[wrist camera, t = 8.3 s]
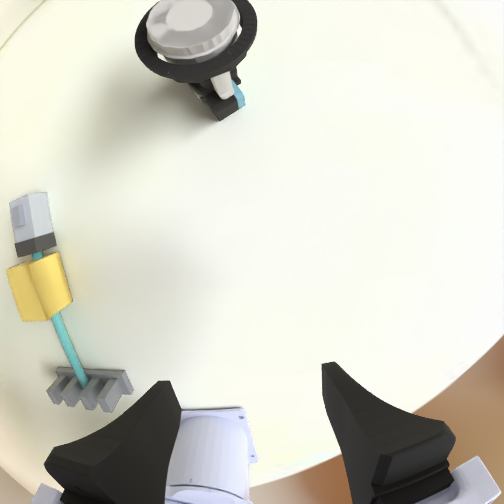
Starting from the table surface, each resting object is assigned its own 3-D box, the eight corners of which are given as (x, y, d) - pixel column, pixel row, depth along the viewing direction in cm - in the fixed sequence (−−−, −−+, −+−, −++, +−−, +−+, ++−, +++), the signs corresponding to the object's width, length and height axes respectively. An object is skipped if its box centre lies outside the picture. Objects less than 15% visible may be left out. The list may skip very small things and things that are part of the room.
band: (56, 245, 20) (37, 252, 17) (37, 250, 20) (17, 257, 17) (53, 231, 20) (33, 237, 17) (34, 237, 20) (14, 243, 17)
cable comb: (133, 389, 23) (119, 416, 19) (67, 384, 24) (51, 405, 20) (124, 370, 23) (108, 396, 19) (58, 367, 23) (40, 387, 19)
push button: (159, 72, 17) (99, 6, 7) (219, 35, 16) (199, -50, 7) (205, 137, 18) (162, 93, 9) (269, 97, 18) (285, 24, 8)
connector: (53, 231, 20) (30, 238, 17) (34, 237, 20) (11, 244, 17) (46, 192, 19) (23, 194, 16) (27, 200, 19) (4, 203, 16)
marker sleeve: (73, 300, 21) (46, 320, 17) (48, 303, 21) (22, 321, 17) (59, 251, 20) (28, 264, 16) (35, 257, 20) (5, 269, 16)
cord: (92, 382, 22) (87, 388, 21) (84, 382, 22) (80, 387, 21) (37, 220, 18) (30, 222, 18) (30, 223, 19) (23, 224, 18)
